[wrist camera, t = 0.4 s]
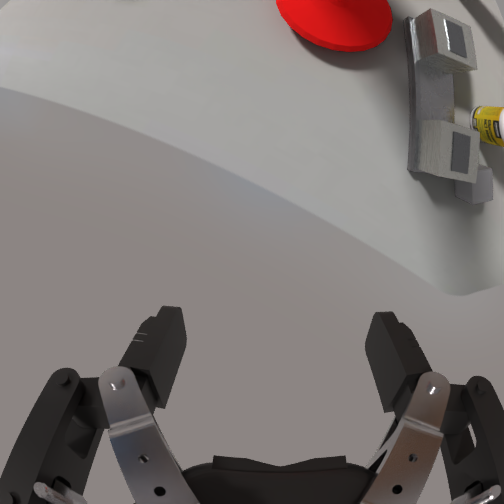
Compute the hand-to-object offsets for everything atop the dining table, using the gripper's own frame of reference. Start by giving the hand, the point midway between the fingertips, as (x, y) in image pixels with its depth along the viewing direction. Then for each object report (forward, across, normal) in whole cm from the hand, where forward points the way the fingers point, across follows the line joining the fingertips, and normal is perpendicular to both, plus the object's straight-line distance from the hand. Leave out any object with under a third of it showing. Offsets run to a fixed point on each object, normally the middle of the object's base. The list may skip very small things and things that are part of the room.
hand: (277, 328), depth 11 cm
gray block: (+28, -32, -4) cm, 43 cm away
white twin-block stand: (+28, -23, -16) cm, 40 cm away
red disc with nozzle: (+29, -8, -27) cm, 40 cm away
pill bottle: (+29, -34, -14) cm, 47 cm away
